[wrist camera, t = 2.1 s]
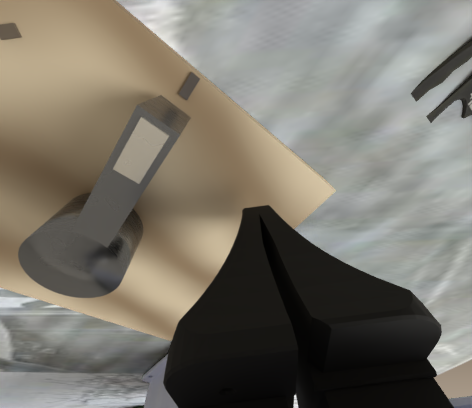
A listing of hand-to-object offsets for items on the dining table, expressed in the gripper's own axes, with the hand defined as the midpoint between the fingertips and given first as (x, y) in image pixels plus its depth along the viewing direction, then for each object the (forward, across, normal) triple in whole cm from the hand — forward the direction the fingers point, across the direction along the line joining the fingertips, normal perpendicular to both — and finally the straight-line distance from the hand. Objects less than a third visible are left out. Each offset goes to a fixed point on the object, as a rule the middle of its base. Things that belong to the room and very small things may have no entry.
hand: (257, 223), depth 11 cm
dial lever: (+1, +6, -2) cm, 7 cm away
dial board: (+3, +8, 0) cm, 9 cm away
